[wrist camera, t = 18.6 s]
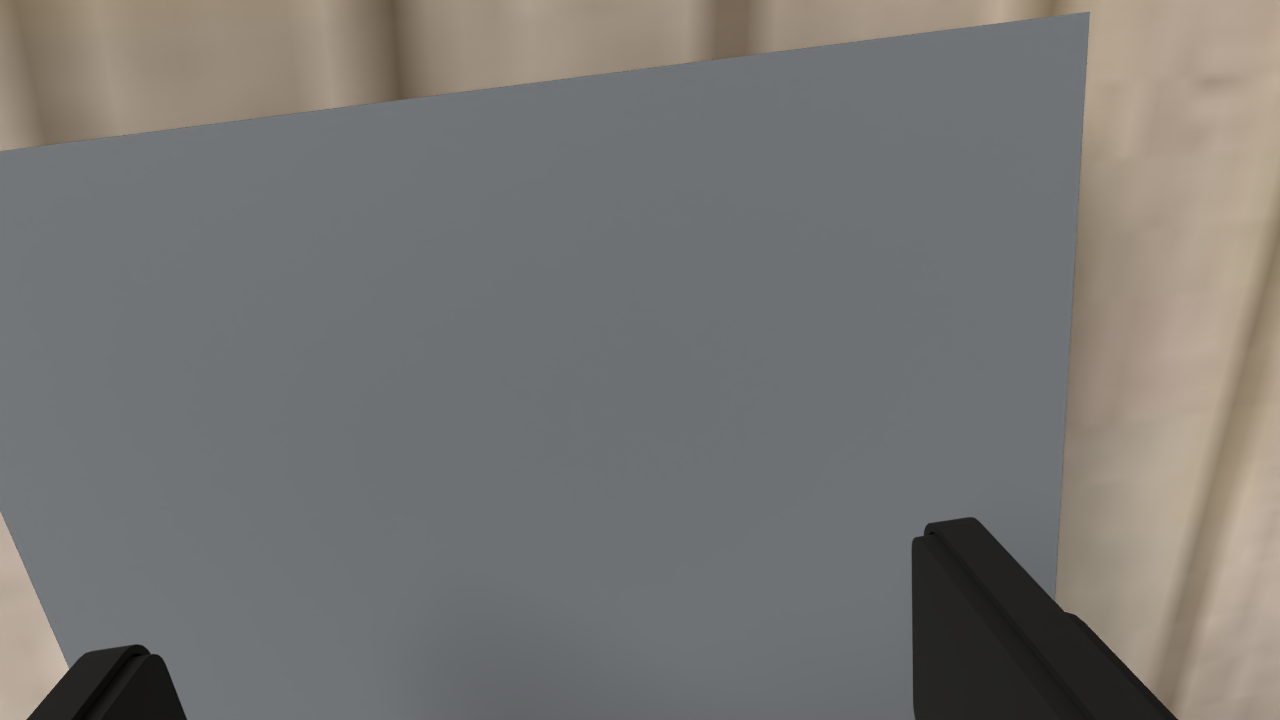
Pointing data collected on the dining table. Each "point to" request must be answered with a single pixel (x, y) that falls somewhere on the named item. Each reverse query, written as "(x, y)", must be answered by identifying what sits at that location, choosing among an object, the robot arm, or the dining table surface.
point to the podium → (549, 381)
